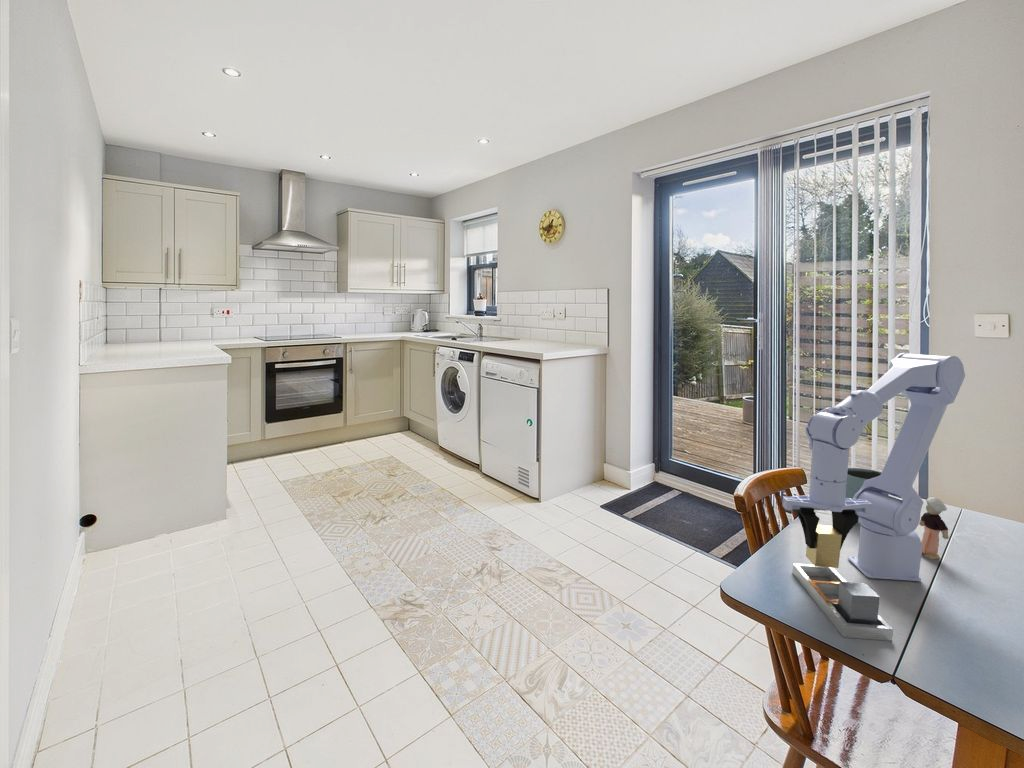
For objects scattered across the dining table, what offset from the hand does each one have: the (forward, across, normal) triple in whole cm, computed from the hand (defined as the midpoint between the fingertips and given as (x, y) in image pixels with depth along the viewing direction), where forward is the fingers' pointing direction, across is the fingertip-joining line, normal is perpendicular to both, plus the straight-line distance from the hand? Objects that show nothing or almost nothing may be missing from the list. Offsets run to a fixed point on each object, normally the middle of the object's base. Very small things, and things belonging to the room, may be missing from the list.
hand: (822, 546), depth 93 cm
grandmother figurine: (+8, +28, +15) cm, 33 cm away
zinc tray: (+7, 0, -7) cm, 10 cm away
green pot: (+8, +24, +33) cm, 41 cm away
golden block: (+3, 0, 0) cm, 3 cm away
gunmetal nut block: (+7, 0, -13) cm, 15 cm away
